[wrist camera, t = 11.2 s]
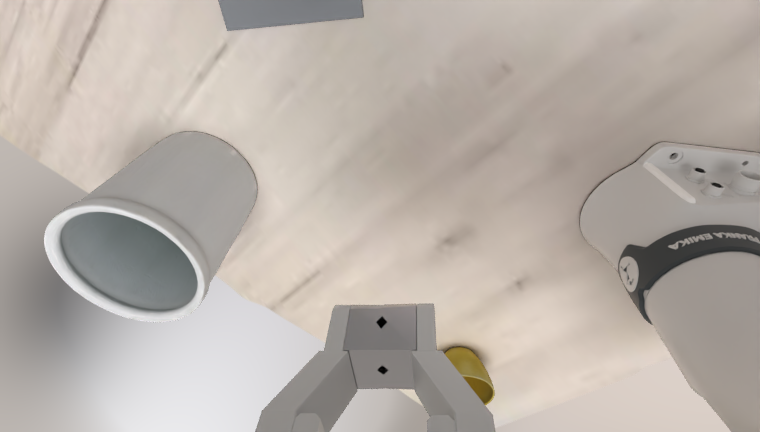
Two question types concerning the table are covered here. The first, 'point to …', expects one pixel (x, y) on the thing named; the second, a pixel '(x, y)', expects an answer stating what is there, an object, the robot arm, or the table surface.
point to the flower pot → (472, 372)
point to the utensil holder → (155, 228)
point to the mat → (286, 12)
